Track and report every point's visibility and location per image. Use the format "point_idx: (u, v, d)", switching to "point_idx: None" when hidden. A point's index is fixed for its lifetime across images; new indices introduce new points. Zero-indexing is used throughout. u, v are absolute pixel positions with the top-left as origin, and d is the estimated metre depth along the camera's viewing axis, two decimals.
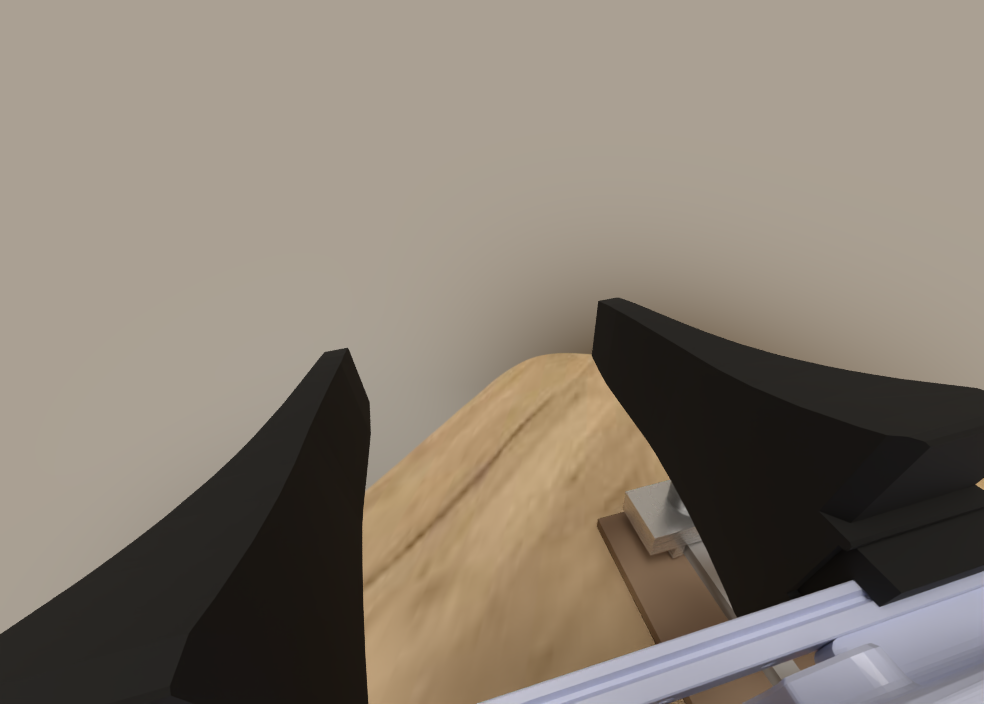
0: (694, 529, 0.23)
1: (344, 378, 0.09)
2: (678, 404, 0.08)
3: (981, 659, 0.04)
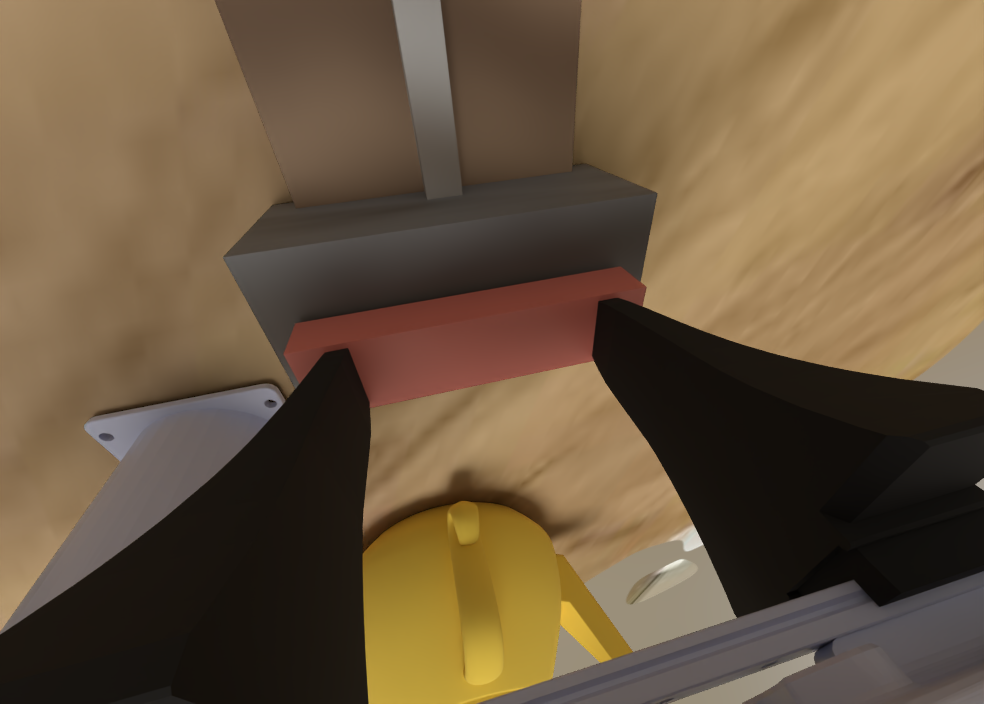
0: None
1: (344, 378, 0.09)
2: (678, 404, 0.08)
3: (981, 659, 0.04)
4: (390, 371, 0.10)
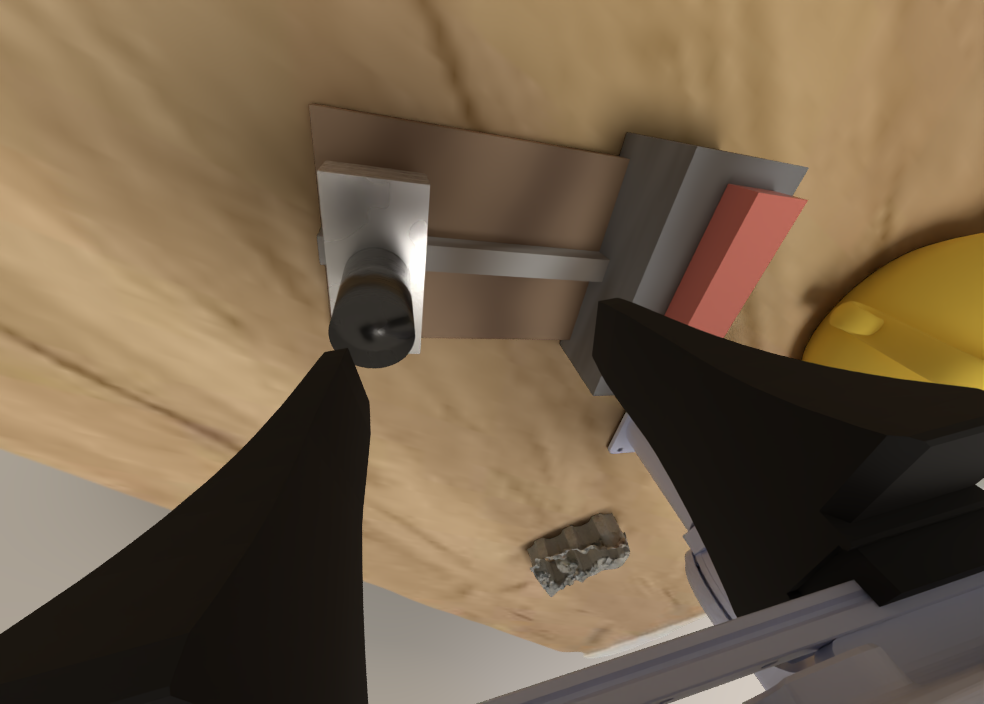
0: None
1: (344, 378, 0.09)
2: (678, 404, 0.08)
3: (981, 659, 0.04)
4: None
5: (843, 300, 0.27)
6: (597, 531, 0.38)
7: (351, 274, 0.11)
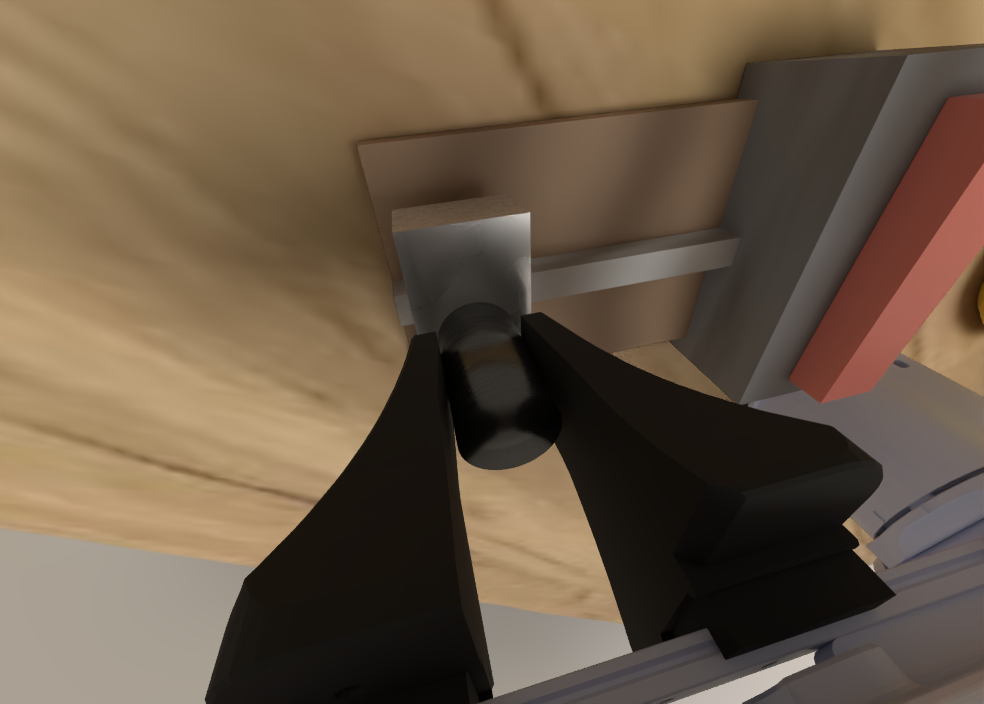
0: None
1: (440, 359, 0.09)
2: (579, 427, 0.08)
3: (981, 659, 0.04)
4: (880, 350, 0.13)
5: None
6: None
7: (459, 353, 0.09)
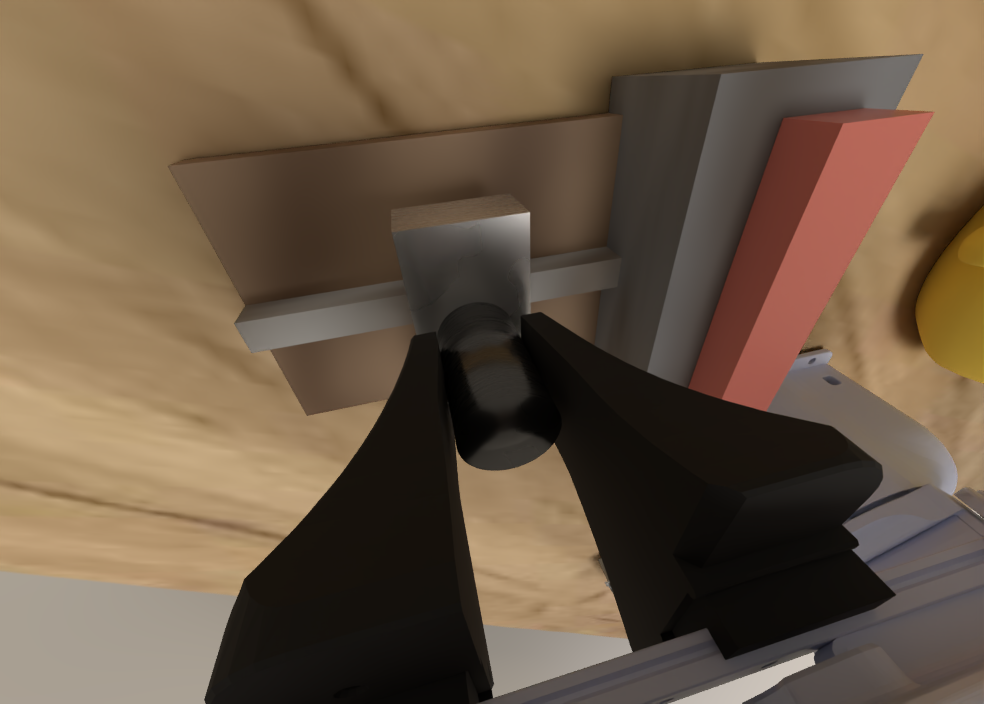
0: None
1: (440, 359, 0.09)
2: (578, 427, 0.08)
3: (981, 659, 0.04)
4: (758, 378, 0.13)
5: (973, 220, 0.19)
6: None
7: (458, 353, 0.09)
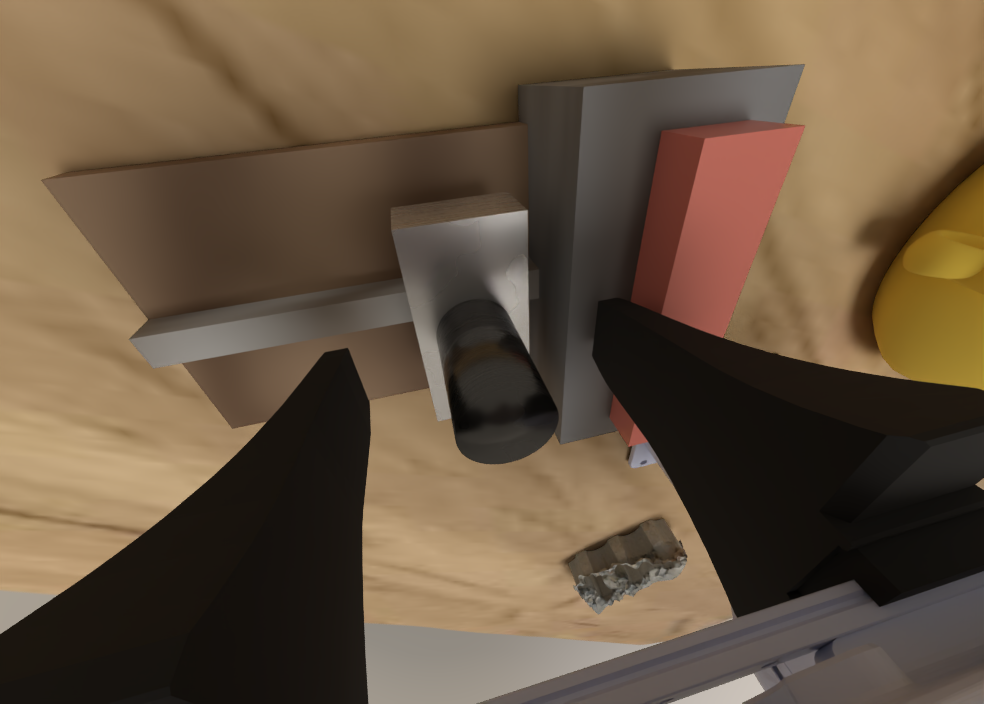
0: None
1: (344, 378, 0.09)
2: (678, 404, 0.08)
3: (981, 659, 0.04)
4: None
5: (922, 227, 0.19)
6: (648, 541, 0.33)
7: (457, 349, 0.09)
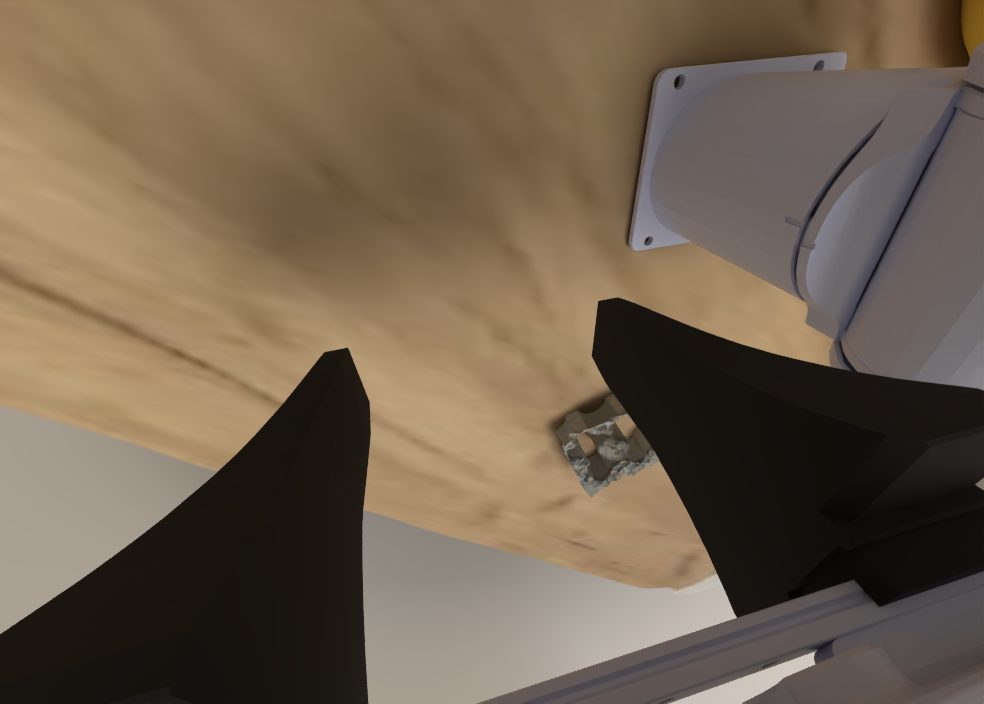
0: None
1: (344, 378, 0.09)
2: (678, 404, 0.08)
3: (981, 659, 0.04)
4: None
5: None
6: None
7: None
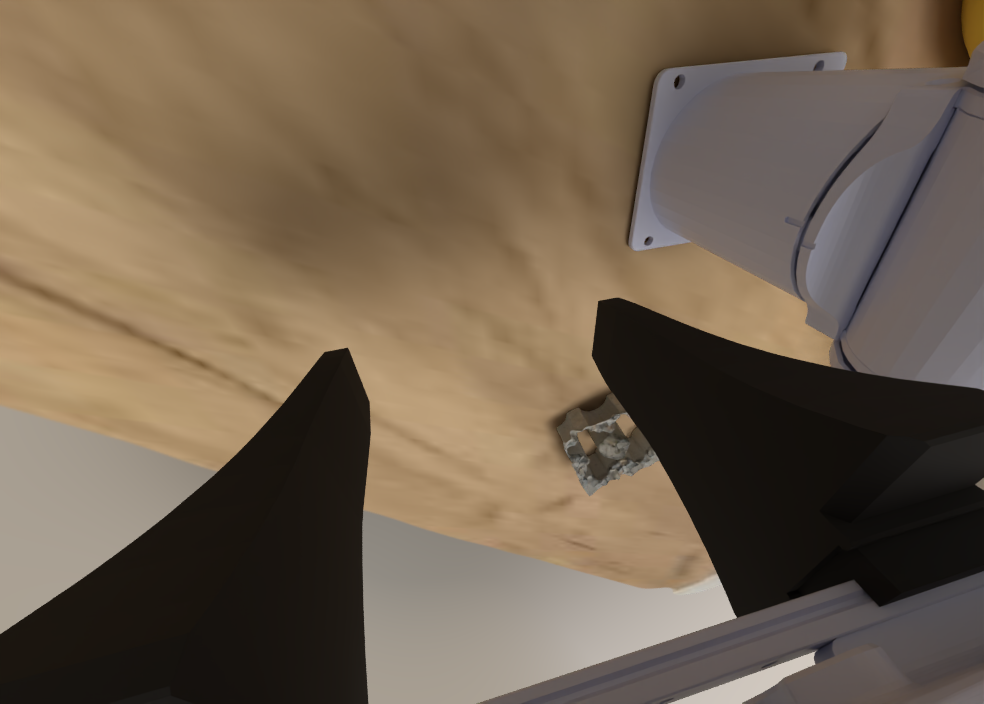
0: None
1: (344, 378, 0.09)
2: (678, 404, 0.08)
3: (981, 659, 0.04)
4: None
5: None
6: None
7: None
